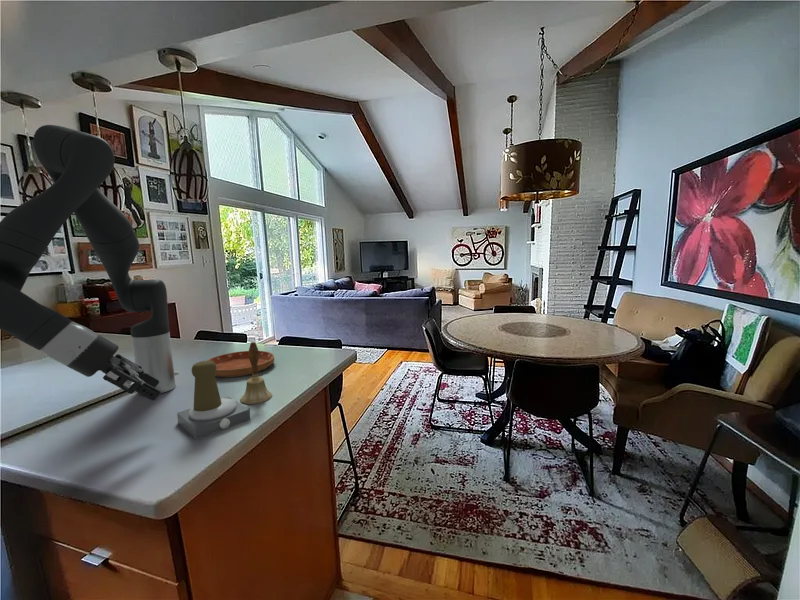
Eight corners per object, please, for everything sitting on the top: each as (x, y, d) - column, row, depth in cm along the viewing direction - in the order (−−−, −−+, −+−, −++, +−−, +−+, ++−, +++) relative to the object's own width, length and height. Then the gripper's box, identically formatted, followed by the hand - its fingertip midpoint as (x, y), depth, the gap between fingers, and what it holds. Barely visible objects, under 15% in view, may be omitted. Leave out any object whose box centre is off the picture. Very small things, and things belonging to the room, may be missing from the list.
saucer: (252, 355, 139) (251, 346, 139) (287, 365, 126) (287, 355, 125) (191, 372, 121) (190, 362, 120) (225, 385, 107) (224, 374, 107)
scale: (178, 422, 83) (176, 408, 83) (229, 405, 92) (228, 393, 92) (197, 439, 75) (195, 424, 75) (251, 419, 84) (250, 405, 84)
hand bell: (274, 391, 102) (270, 337, 99) (269, 403, 93) (264, 345, 91) (244, 393, 100) (240, 339, 98) (236, 405, 92) (231, 347, 90)
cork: (202, 413, 80) (197, 367, 79) (188, 407, 83) (183, 363, 82) (226, 403, 85) (222, 360, 84) (213, 398, 88) (209, 356, 87)
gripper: (93, 340, 65) (172, 385, 73) (100, 328, 76) (168, 368, 84) (57, 373, 62) (143, 416, 70) (70, 356, 74) (143, 395, 82)
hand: (157, 390), depth 77 cm, fingers open, 8 cm apart
